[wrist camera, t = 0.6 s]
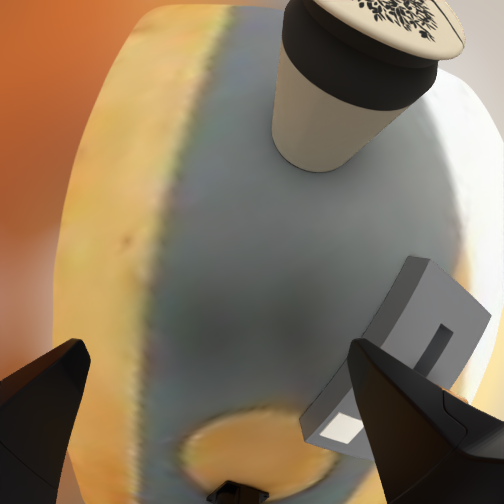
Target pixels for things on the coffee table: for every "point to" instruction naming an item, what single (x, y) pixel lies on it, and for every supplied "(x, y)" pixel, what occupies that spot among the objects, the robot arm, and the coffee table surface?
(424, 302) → the block
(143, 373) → the coffee table surface
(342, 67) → the travel mug
